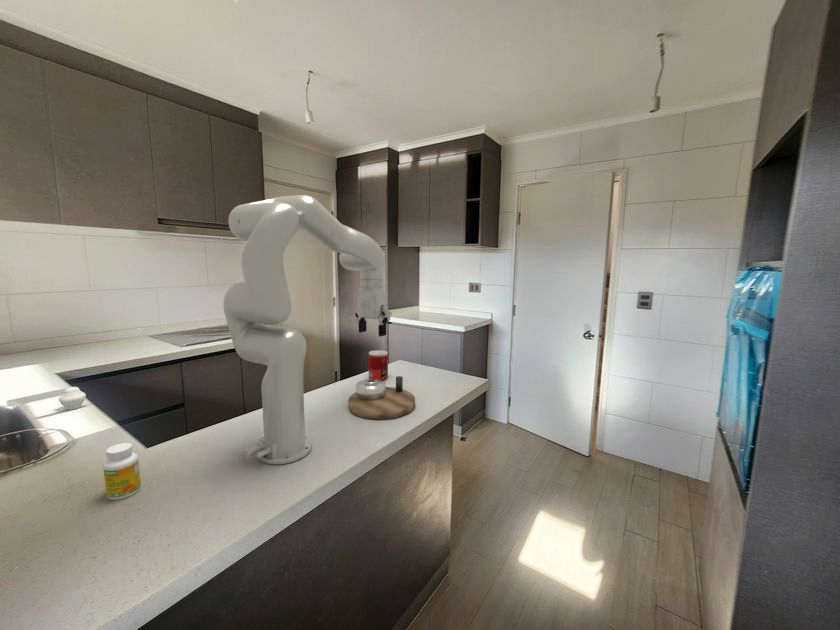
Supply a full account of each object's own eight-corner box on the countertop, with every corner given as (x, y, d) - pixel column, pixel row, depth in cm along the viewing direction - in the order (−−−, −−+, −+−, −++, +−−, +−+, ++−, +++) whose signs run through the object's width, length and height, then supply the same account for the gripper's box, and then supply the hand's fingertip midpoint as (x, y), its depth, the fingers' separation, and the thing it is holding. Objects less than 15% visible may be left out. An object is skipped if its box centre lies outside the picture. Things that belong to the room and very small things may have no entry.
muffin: (80, 410, 110) (77, 389, 109) (55, 413, 108) (52, 391, 107) (91, 403, 116) (88, 382, 115) (67, 405, 114) (64, 384, 113)
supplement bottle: (102, 503, 68) (96, 457, 67) (113, 487, 73) (107, 443, 72) (136, 496, 70) (131, 451, 69) (144, 481, 75) (140, 438, 74)
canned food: (384, 382, 140) (384, 355, 139) (365, 380, 142) (365, 354, 140) (390, 376, 148) (390, 350, 146) (372, 374, 149) (372, 349, 148)
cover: (371, 403, 113) (371, 388, 112) (349, 396, 119) (349, 381, 118) (391, 394, 121) (391, 380, 120) (370, 387, 127) (370, 374, 126)
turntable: (384, 425, 102) (384, 402, 101) (334, 406, 115) (333, 386, 114) (427, 402, 120) (428, 382, 118) (379, 387, 132) (379, 370, 131)
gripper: (346, 283, 122) (347, 332, 125) (382, 286, 111) (383, 339, 114) (362, 282, 128) (363, 329, 130) (398, 285, 117) (398, 335, 120)
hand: (372, 333), depth 122 cm, fingers open, 9 cm apart
